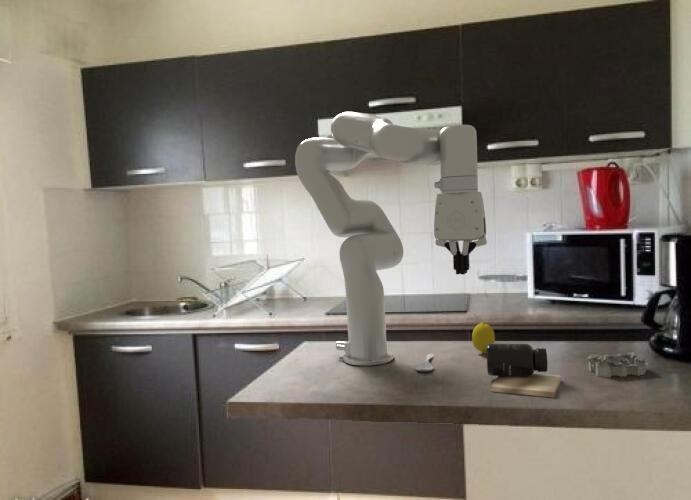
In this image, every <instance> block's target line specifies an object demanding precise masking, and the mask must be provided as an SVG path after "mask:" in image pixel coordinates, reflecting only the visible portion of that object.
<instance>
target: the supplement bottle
mask: <svg viewBox="0 0 691 500" xmlns="http://www.w3.org/2000/svg"><path fill="white" fill-rule="evenodd" d="M548 364H549V363H548V354H547V348H540V347H536V349H535V348H534V347H532V345H530V344H529V343H516V342H515V343H512V342H511V343H504V342H503V343H502V342H501V343H498V342H497V343H495V342H494V343H489V344H487V352H486V368H487V369H486V373H487V375H488V376H490V377H498V376H531V375H532V374H535V372H537V373H541V372H542V373H546V372H548Z"/></svg>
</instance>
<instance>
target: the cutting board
mask: <svg viewBox="0 0 691 500" xmlns="http://www.w3.org/2000/svg"><path fill="white" fill-rule="evenodd" d="M561 382H562V375H556V374H543V373H533V374H532V375H531V376H496V379H495V380H494V382H492V383H491V385H490V392H494V393H495V392H496V393H504V394H514V395H516V394H517V395H527V396H536V397H545V398H546V397H547V398H555V397H556V394H557V392H558V389H559V387H560V384H561Z"/></svg>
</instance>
